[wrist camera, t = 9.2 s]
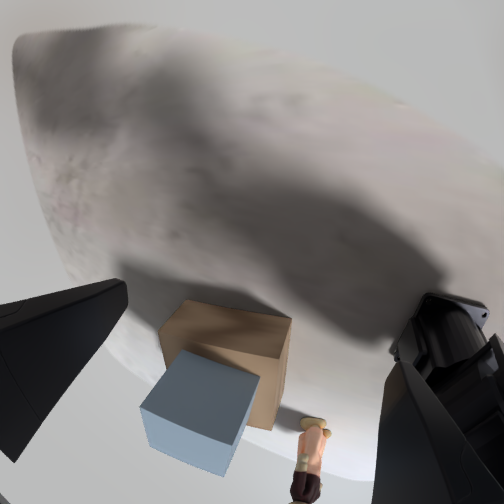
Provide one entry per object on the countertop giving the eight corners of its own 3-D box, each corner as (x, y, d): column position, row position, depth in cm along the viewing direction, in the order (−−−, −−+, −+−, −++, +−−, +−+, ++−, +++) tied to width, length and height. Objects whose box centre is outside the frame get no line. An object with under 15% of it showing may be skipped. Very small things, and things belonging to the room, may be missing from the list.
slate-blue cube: (260, 376, 19) (232, 445, 14) (248, 419, 22) (223, 477, 16) (182, 349, 20) (139, 406, 15) (182, 395, 23) (149, 446, 18)
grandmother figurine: (285, 414, 27) (250, 520, 16) (319, 408, 26) (292, 523, 14) (315, 448, 29) (292, 540, 17) (345, 443, 27) (328, 540, 16)
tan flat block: (292, 316, 23) (278, 359, 18) (283, 390, 26) (271, 430, 22) (187, 297, 25) (157, 331, 20) (197, 370, 28) (176, 404, 24)
